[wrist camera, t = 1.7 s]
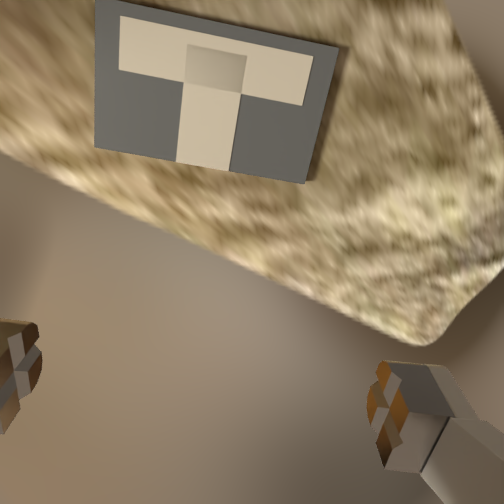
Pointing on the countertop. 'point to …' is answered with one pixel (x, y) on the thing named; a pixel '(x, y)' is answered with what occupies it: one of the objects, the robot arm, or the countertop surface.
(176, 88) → the letter board
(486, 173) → the countertop surface
